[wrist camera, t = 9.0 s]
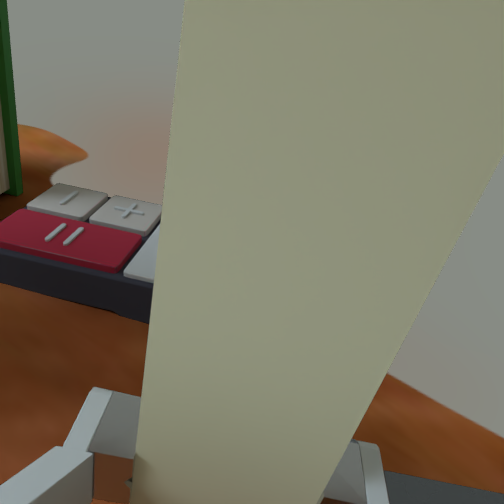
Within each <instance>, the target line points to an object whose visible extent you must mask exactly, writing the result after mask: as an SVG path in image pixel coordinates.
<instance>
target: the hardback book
mask: <svg viewBox="0 0 504 504" xmlns="http://www.w3.org/2000/svg"><path fill="white" fill-rule="evenodd" d="M1 193H6V194H10V195H14V196H19V195H20V194H22V193H23V185H22V173H21V162H20V150H19V139H18V127H17V116H16V105H15V93H14V81H13V70H12V57H11V47H10V34H9V23H8V11H7V0H0V194H1Z"/></svg>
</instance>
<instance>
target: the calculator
mask: <svg viewBox="0 0 504 504" xmlns="http://www.w3.org/2000/svg"><path fill="white" fill-rule="evenodd" d="M161 213H162V205H158V204H154V203H149V202H145V201H139V200H135V199H130V198H126V197H121V196H113V197H112V198H111V197H108V195H107V194H106V193H103V192H98V191H93V190H89V189H84V188H79V187H75V186H70V185H65V184H60V183H59V184H56V185H54V186H53V187H51V188H50V189H48V190H47V191H45V192H44V193H42V194H41V195H39V196H38V197H36V198H35V199H33V200H32V201H31V202H29V203H28V204H27V206H26V207H25V208H23V209H19V210H17V211H16V212H14V213H13V214H11V215H10V216H8V217H7V218H6V219H4V220H3V221H1V222H0V283H4V284H7V285H11V286H15V287H18V288H22V289H25V290H29V291H33V292H36V293H40V294H44V295H47V296H51V297H55V298H59V299H64V300H68V301H72V302H76V303H81V304H85V305H89V306H93V307H98V308H102V309H106V310H110V311H113V312H115V313H116V314H118V315H119V316H122V317H126V318H129V319H133V320H137V321H140V322H144V323H147V324H149V323H150V314H151V304H152V295H153V286H154V277H155V268H156V259H157V249H158V240H159V231H160V222H161Z"/></svg>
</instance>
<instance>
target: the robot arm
mask: <svg viewBox="0 0 504 504" xmlns="http://www.w3.org/2000/svg"><path fill="white" fill-rule="evenodd" d="M140 405H141V397H138V396H134V395H129V394H125V393H121V392H116V391H112V390H107V389H102V388H98V387H93V389H92V390H91V391H90V392H89V394H88V396H87V398H86V400H85V402H84V404H83V406H82V408H81V410H80V412H79V414H78V416H77V418H76V420H75V422H74V424H73V426H72V428H71V431H70V433H69V435H68V437H67V439H66V441H65V443H64V445H63V447H61V446H55V447H54V448H52V449H51V450H50V451H48V452H47V453H45V454H44V455H42V456H41V457H40V458H38V459H37V460H35V461H34V462H33V463H31V464H30V465H28V466H27V467H26V468H24V469H23V470H21V471H20V472H19V473H17V474H16V475H14V476H13V477H12V478H10V479H9V480H7V481H6V482H4V483H3V484H2V485H0V504H90V503H91V502H92V499H98V500H104V501H110V502H116V503H122V504H129V502H130V499H131V492H132V478H133V472H134V465H135V454H136V453H135V451H136V442H137V433H138V423H139V414H140ZM316 504H390V503H389V498H388V492H387V487H386V482H385V476H384V471H383V466H382V460H381V455H380V450H379V448H378V446H377V445H376V444H373V443H368V442H362V441H356V440H355V439H351V441H350V442H349V444H348V446H347V448H346V450H345V452H344V454H343V455H342V457H341V459H340V461H339V463H338V465H337V467H336V469H335V470H334V472H333V474H332V476H331V478H330V480H329V482H328V483H327V485H326V487H325V489H324V491H323V492H322V494H321V496H320V498H319V500H318V501H317V503H316Z"/></svg>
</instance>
